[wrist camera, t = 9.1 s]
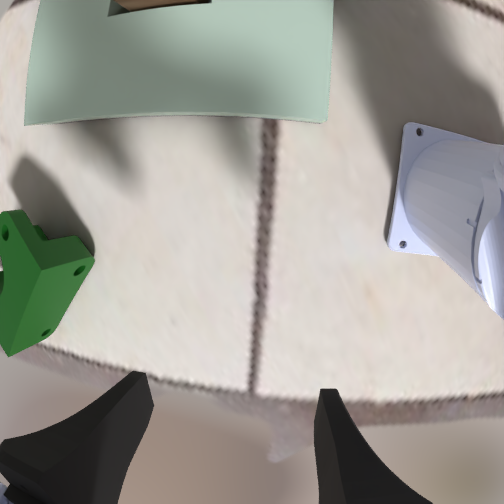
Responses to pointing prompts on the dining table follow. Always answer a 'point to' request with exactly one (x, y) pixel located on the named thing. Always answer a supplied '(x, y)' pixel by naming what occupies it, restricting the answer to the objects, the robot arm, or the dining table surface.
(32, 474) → the robot arm
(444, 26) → the dining table surface
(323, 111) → the well block
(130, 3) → the post
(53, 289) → the clamp
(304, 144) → the dining table surface
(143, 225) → the dining table surface
